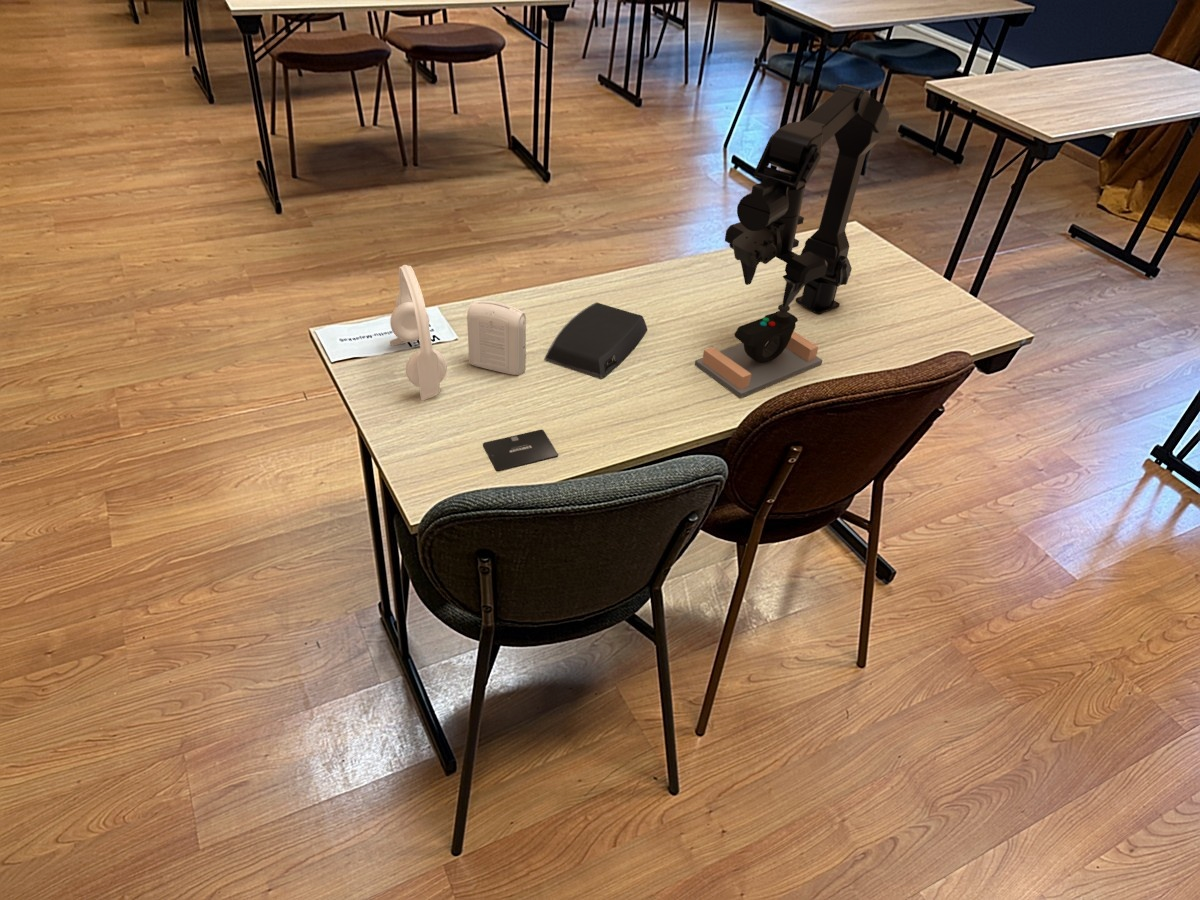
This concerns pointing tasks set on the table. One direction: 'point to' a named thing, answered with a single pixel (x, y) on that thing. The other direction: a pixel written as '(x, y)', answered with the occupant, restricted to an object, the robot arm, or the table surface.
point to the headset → (416, 336)
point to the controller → (767, 335)
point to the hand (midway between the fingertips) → (766, 295)
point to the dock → (757, 366)
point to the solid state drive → (520, 450)
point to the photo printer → (496, 337)
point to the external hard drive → (597, 340)
